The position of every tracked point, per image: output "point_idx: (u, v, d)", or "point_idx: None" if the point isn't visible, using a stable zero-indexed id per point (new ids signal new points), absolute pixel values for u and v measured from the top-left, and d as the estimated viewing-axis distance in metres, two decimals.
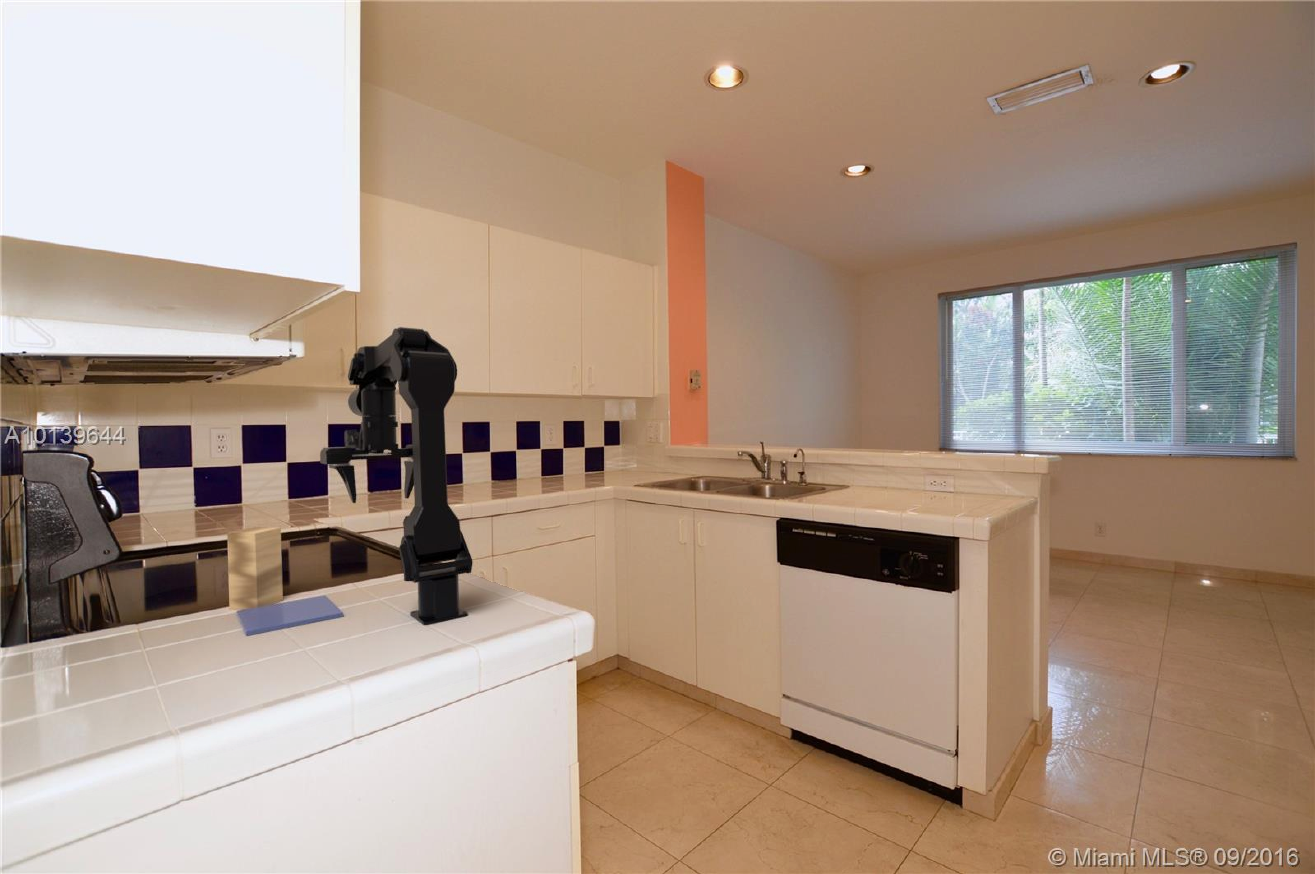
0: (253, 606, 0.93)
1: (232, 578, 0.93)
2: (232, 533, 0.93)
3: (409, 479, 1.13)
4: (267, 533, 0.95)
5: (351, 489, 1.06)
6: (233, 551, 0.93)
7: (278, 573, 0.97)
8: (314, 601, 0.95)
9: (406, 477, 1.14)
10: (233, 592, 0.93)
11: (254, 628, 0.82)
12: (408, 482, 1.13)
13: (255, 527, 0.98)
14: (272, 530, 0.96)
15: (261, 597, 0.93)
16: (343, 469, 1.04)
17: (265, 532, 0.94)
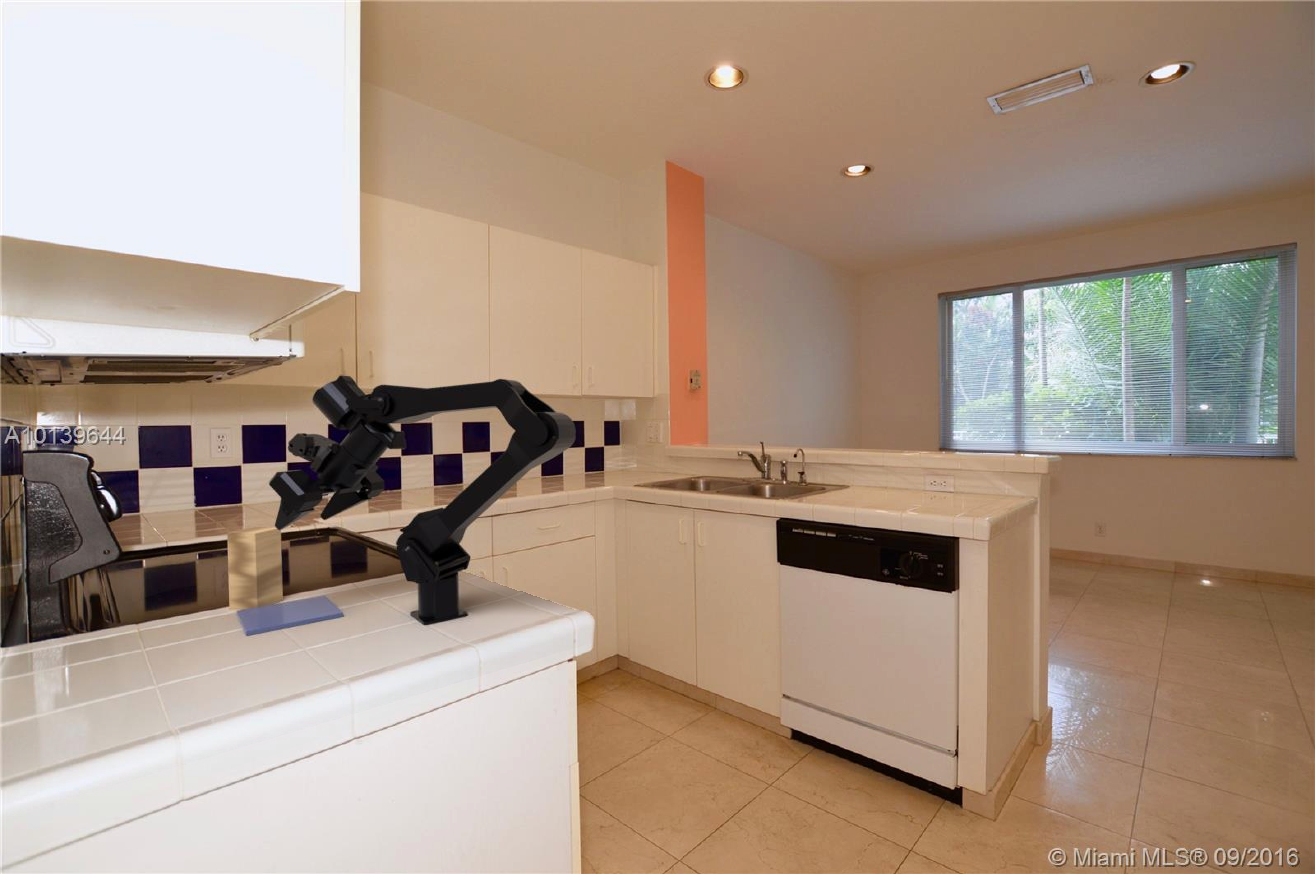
0: (253, 606, 0.93)
1: (232, 578, 0.93)
2: (232, 533, 0.93)
3: (342, 508, 0.98)
4: (267, 533, 0.95)
5: (290, 523, 0.89)
6: (233, 551, 0.93)
7: (278, 573, 0.97)
8: (314, 601, 0.95)
9: (335, 499, 0.98)
10: (233, 592, 0.93)
11: (254, 628, 0.82)
12: (338, 509, 0.98)
13: (255, 527, 0.98)
14: (272, 530, 0.96)
15: (261, 597, 0.93)
16: (303, 513, 0.86)
17: (265, 532, 0.94)
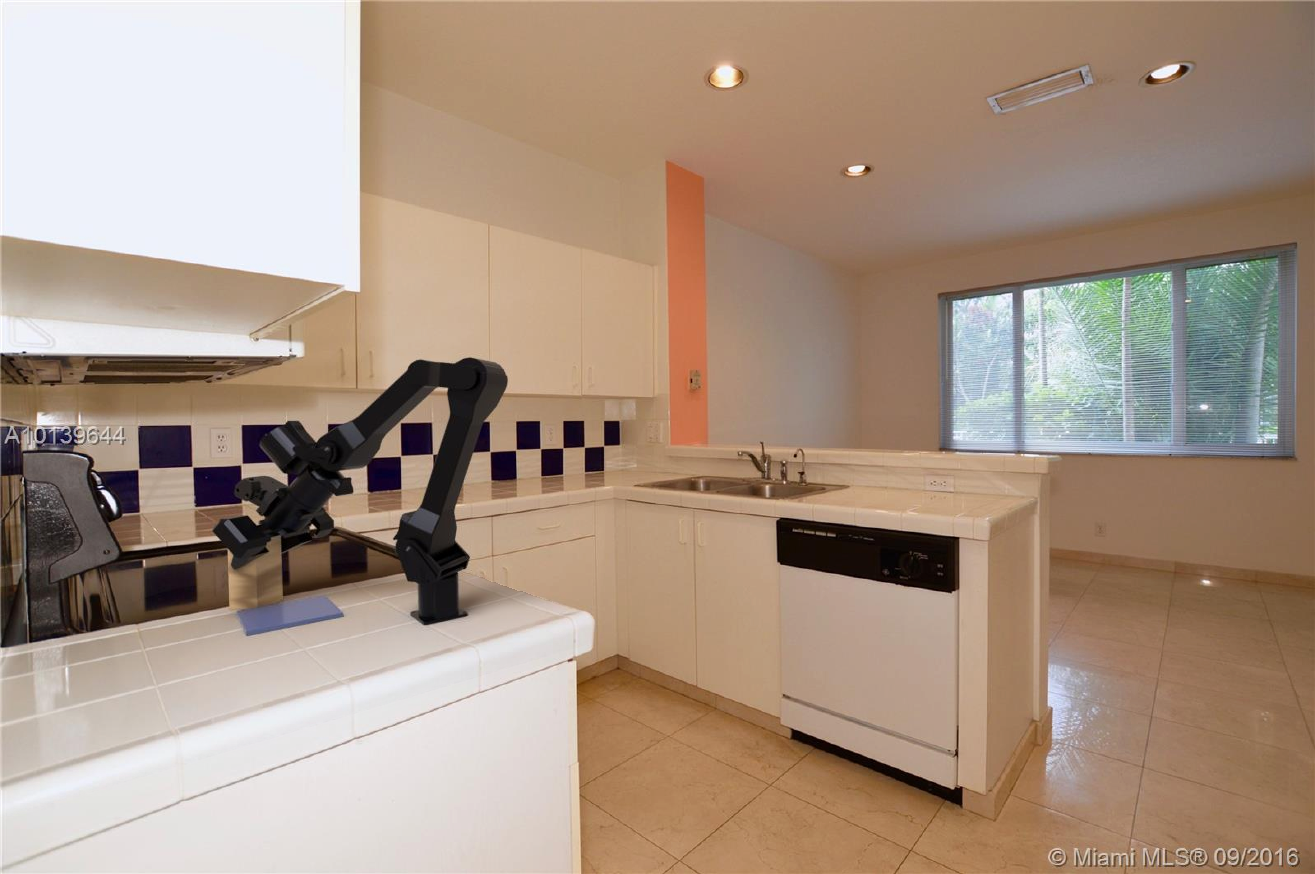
0: (253, 606, 0.93)
1: (232, 578, 0.93)
2: None
3: (281, 550, 0.98)
4: None
5: (245, 563, 0.92)
6: None
7: (278, 573, 0.97)
8: (314, 601, 0.95)
9: None
10: (233, 592, 0.93)
11: (254, 628, 0.82)
12: None
13: None
14: None
15: (261, 597, 0.94)
16: (257, 555, 0.90)
17: None
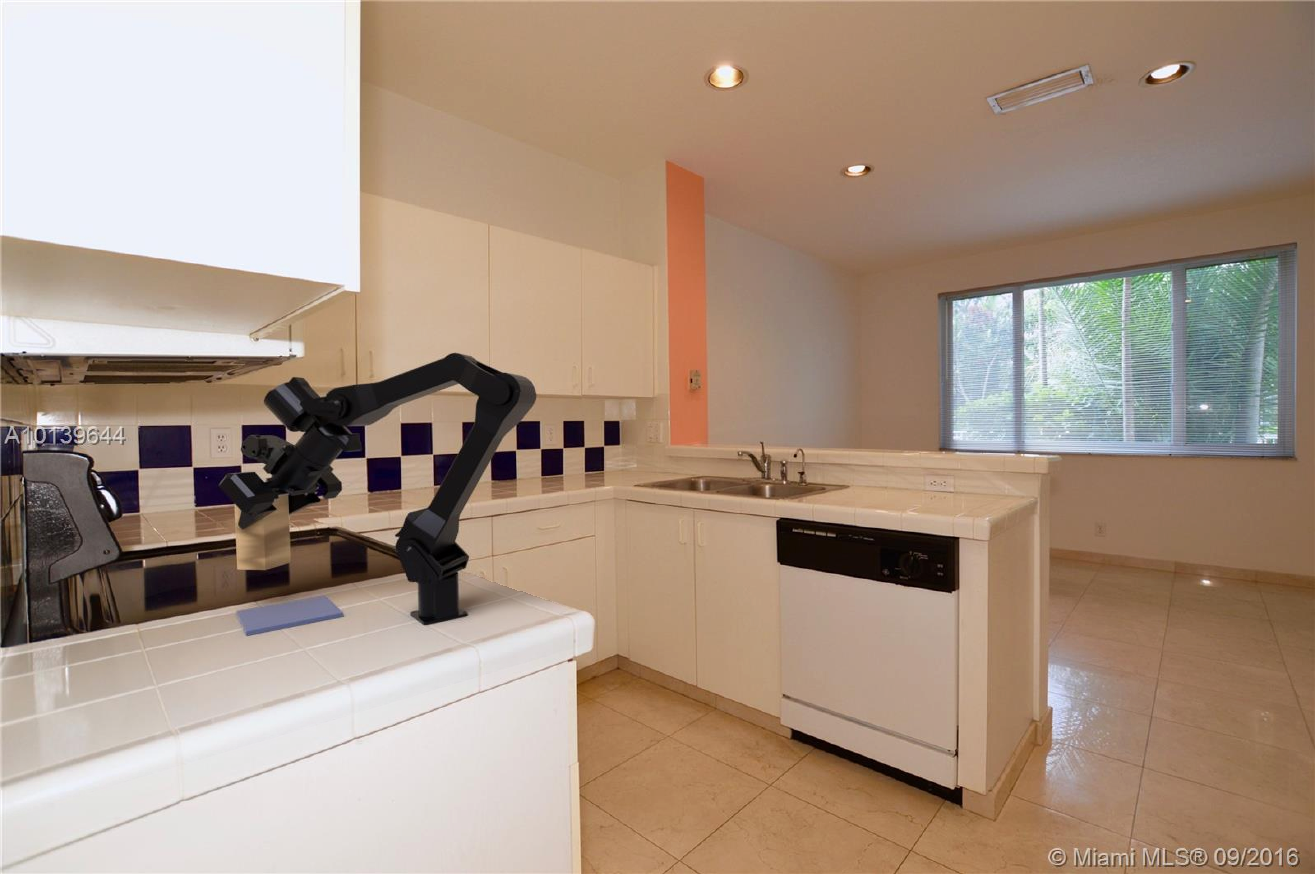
0: (261, 566, 0.91)
1: (239, 538, 0.92)
2: None
3: (289, 511, 0.96)
4: None
5: (253, 522, 0.90)
6: (240, 510, 0.92)
7: (286, 534, 0.95)
8: (314, 601, 0.95)
9: None
10: (241, 552, 0.92)
11: (254, 628, 0.82)
12: None
13: None
14: None
15: (268, 556, 0.92)
16: (265, 513, 0.88)
17: None
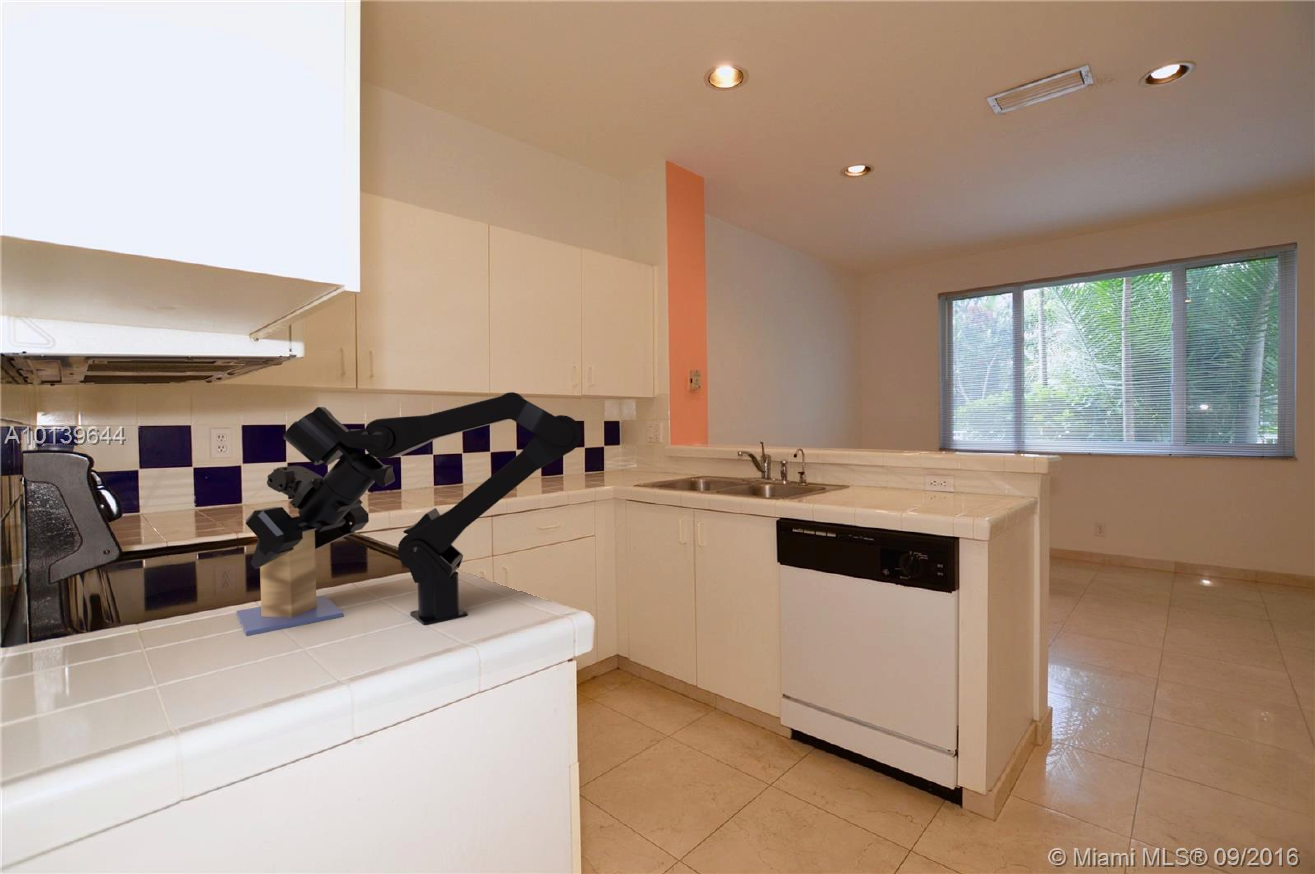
0: (287, 613, 0.87)
1: (264, 583, 0.88)
2: None
3: (323, 542, 0.94)
4: None
5: (267, 562, 0.84)
6: None
7: (312, 578, 0.91)
8: None
9: (317, 533, 0.94)
10: (265, 598, 0.88)
11: (254, 628, 0.82)
12: (319, 543, 0.94)
13: None
14: (306, 532, 0.90)
15: (295, 603, 0.88)
16: (281, 553, 0.82)
17: None
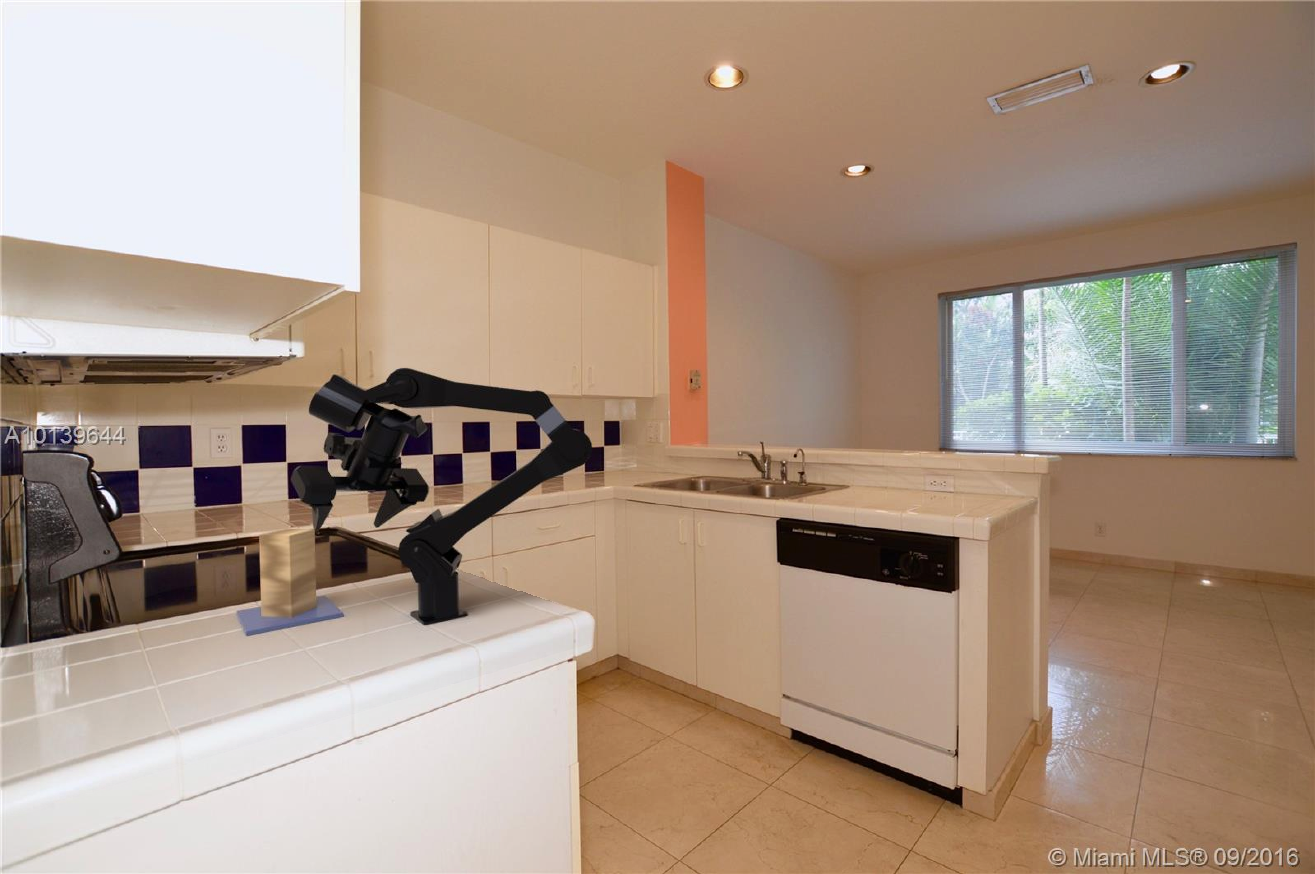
0: (287, 613, 0.87)
1: (264, 583, 0.88)
2: (264, 535, 0.88)
3: (387, 514, 0.95)
4: (301, 535, 0.89)
5: (319, 522, 0.88)
6: (265, 554, 0.88)
7: (312, 578, 0.91)
8: None
9: (384, 505, 0.96)
10: (265, 598, 0.88)
11: (254, 628, 0.82)
12: (385, 515, 0.95)
13: (287, 529, 0.92)
14: (306, 532, 0.90)
15: (295, 603, 0.88)
16: (319, 508, 0.84)
17: (299, 534, 0.89)
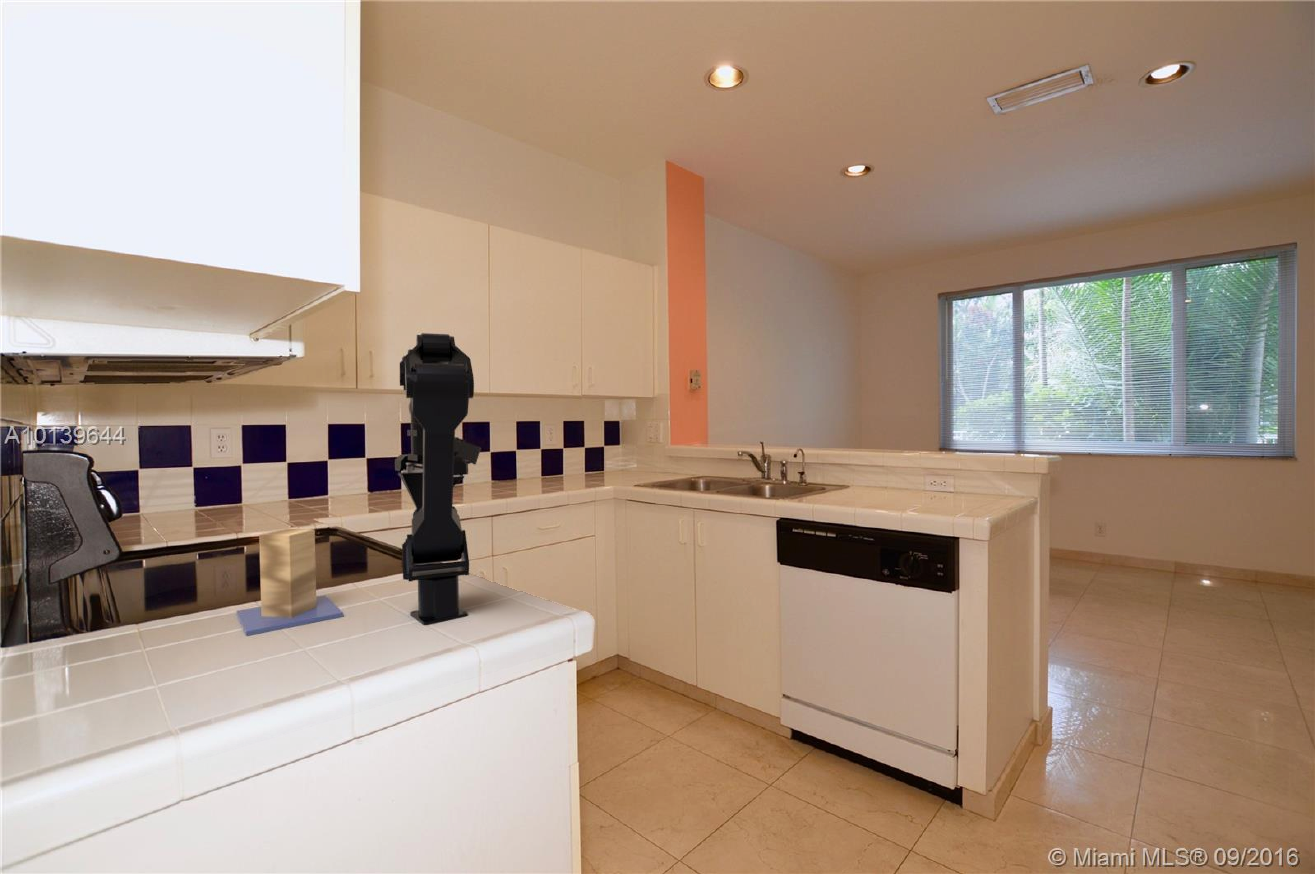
0: (287, 613, 0.87)
1: (264, 583, 0.88)
2: (264, 535, 0.88)
3: None
4: (301, 535, 0.89)
5: (411, 497, 1.05)
6: (265, 554, 0.88)
7: (312, 578, 0.91)
8: None
9: None
10: (265, 598, 0.88)
11: (254, 628, 0.82)
12: None
13: (287, 529, 0.92)
14: (306, 532, 0.90)
15: (295, 603, 0.88)
16: (400, 476, 1.06)
17: (299, 534, 0.89)
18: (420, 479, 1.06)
